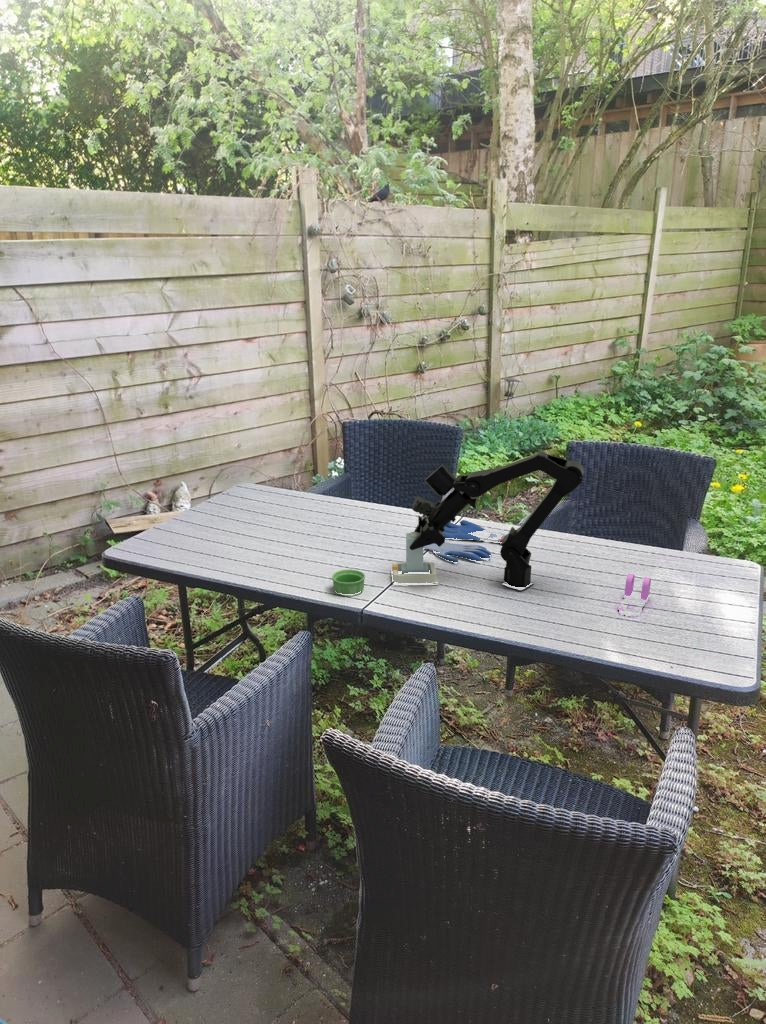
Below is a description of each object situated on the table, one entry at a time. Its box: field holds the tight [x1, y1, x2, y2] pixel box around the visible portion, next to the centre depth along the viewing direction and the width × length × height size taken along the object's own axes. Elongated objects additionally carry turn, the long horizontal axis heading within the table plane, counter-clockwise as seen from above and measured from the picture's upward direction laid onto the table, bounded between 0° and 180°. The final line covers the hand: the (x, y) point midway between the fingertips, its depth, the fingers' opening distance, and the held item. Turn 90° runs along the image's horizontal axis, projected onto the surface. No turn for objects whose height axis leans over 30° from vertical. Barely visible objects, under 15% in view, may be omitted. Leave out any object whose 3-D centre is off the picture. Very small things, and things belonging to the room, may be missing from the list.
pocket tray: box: [391, 561, 438, 583], centre depth 200 cm, size 13×10×4 cm
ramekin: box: [331, 568, 366, 594], centre depth 193 cm, size 9×9×4 cm
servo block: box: [401, 531, 429, 573], centre depth 198 cm, size 8×4×11 cm, turn 92°
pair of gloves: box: [424, 519, 507, 562], centre depth 225 cm, size 32×26×4 cm
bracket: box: [618, 573, 652, 611], centre depth 183 cm, size 13×6×7 cm, turn 149°
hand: (409, 545), depth 197 cm, fingers closed on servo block, 4 cm apart
